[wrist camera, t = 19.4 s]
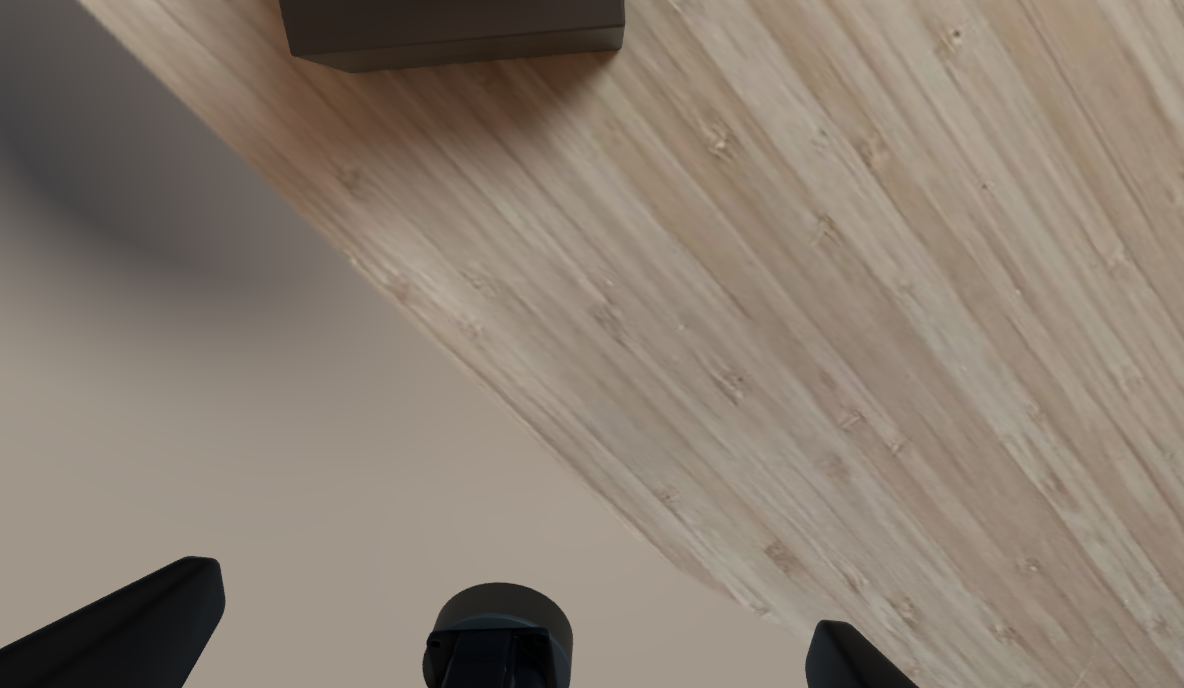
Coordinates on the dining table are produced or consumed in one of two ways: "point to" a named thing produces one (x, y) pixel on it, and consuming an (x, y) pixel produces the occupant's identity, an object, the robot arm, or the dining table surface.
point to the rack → (446, 30)
